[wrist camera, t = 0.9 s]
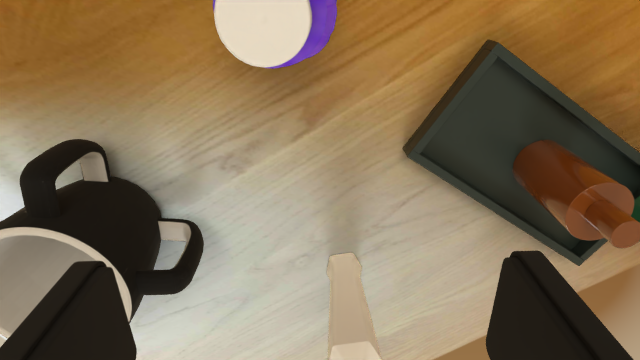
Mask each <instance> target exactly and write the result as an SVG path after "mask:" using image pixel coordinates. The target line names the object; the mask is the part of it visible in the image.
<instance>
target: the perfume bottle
mask: <svg viewBox="0 0 640 360" xmlns="http://www.w3.org/2000/svg"><path fill="white" fill-rule="evenodd" d="M361 271H362V267H361V265H360V263H359V262H358V260H357V258H356V257H355V255H354V253H344V254H337V255H331V256H330V258H329V263H328V268H327V275H328V277H329V279H330V308H329V336H328V360H382V358H381V354H380V350H379V346H378V343H377V339H376V335H375V331H374V328H373V324H372V320H371V316H370V313H369V309H368V305H367V302H366V298H365V294H364V290H363V287H362V283H361V279H360V275H361Z"/></svg>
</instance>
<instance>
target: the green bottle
mask: <svg viewBox="0 0 640 360" xmlns="http://www.w3.org/2000/svg"><path fill="white" fill-rule="evenodd" d="M631 216H632V217H633V218H634V219H636V220H637V221H638V222H640V196H639V197H637V198H636V199H635V200H634V209H633V212H632V214H631Z"/></svg>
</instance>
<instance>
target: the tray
mask: <svg viewBox="0 0 640 360" xmlns="http://www.w3.org/2000/svg"><path fill="white" fill-rule="evenodd" d="M540 140H551V141H555V142H557V143H559V144H560V145H562V146H563V147H565V148H566V149H568V150H570V151H571V152H573V153H574V154H576V155H577V156H579V157H580V158H582V159H584V160H585V161H587V162H588V163H590V164H591V165H593V166H594V167H596V168H597V169H599V170H601V171H602V172H604V173H605V174H607V175H608V176H610V177H611V178H613V179H614V180H616V181H618V182H619V183H621V184H622V185H624V186H625V187H627V188H628V189H629V190H630V191H631V193H632V195H633V198H634V200H635V199H636V198H637V197H639V196H640V153H639V152H638V151H636V150H635V149H634V148H633V147H631V146H630V145H629V144H627V143H626V142H625V141H624V140H622V139H621V138H620V137H619V136H617V135H616V134H615V133H613V132H612V131H611V130H610V129H608V128H607V127H606V126H604V125H603V124H602V123H601V122H599V121H598V120H597V119H596V118H594V117H593V116H592V115H590V114H589V113H588V112H587V111H585V110H584V109H583V108H581V107H580V106H579V105H578V104H576V103H575V102H574V101H572V100H571V99H570V98H569V97H567V96H566V95H565V94H564V93H562V92H561V91H560V90H558V89H557V88H556V87H555V86H553V85H552V84H551V83H549V82H548V81H547V80H546V79H544V78H543V77H542V76H541V75H539V74H538V73H537V72H535V71H534V70H533V69H532V68H530V67H529V66H528V65H526V64H525V63H524V62H523V61H521V60H520V59H519V58H518V57H516V56H515V55H514V54H512V53H511V52H510V51H509V50H507V49H506V48H505V47H503V46H502V45H501V44H500V43H498V42H495V41H492V40H487V41H486V43H485V44H484V45H483V46H482V48H481V49H480V50H479V51H478V53H477V54H476V55H475V57H474V58H473V59H472V60H471V62H470V63H469V64H468V65H467V67H466V68H465V69H464V71H463V72H462V73H461V74H460V76H459V77H458V78H457V80H456V81H455V82H454V83H453V85H452V86H451V87H450V88H449V90H448V91H447V92H446V94H445V95H444V96H443V97H442V99H441V100H440V101H439V102H438V104H437V105H436V106H435V108H434V109H433V110H432V111H431V113H430V114H429V115H428V116H427V118H426V119H425V120H424V122H423V123H422V124H421V125H420V127H419V128H418V129H417V130H416V132H415V133H414V134H413V136H412V137H411V138H410V139H409V141H408V142H407V143H406V144H405V146H404V147H403V150H404V151H405V153H406V155H407V157H409V158H410V159H412V160H413V161H415V162H417V163H418V164H420V165H421V166H423V167H424V168H426V169H427V170H429V171H431V172H432V173H434V174H435V175H437V176H438V177H440V178H442V179H443V180H445V181H446V182H448V183H449V184H451V185H453V186H454V187H456V188H457V189H459V190H460V191H462V192H464V193H465V194H467V195H468V196H470V197H471V198H473V199H474V200H476V201H478V202H479V203H481V204H482V205H484V206H485V207H487V208H489V209H490V210H492V211H493V212H495V213H496V214H498V215H500V216H501V217H503V218H504V219H506V220H507V221H509V222H511V223H512V224H514V225H515V226H517V227H518V228H520V229H522V230H523V231H525V232H526V233H528V234H529V235H531V236H532V237H534V238H536V239H537V240H539V241H540V242H542V243H543V244H545V245H547V246H548V247H550V248H551V249H553V250H554V251H556V252H558V253H559V254H561V255H562V256H564V257H565V258H567V259H569V260H570V261H572V262H573V263H575V264H576V265H578V266H580V265H581V264H582V263H583V262H584V260H586V259H588V258H589V257H590V256H591V255H592V254H593V253H594V252H596V251H597V250H598V249H599V248H600V247H601V246H602V245H603V244H605V243H606V242H607V241H608V240H607V239H606V238H602V239H598V240H582V239H578V238H576V237H574V236H573V235H571V234H570V233H569V232H568V231H567V230H566V229H565V228H564V227H563V226H562V225H561V224H560V223H559V222H558V221H557V220H556V219H555V218H554V217H553V216H552V215H551V214H550V213H549V212H548V211H547V210H546V209H544V208H543V207H542V206H541V205H540V204H539V203H538V202H537V201H536V200H535V199H534V198H533V197H532V196H531V195H530V194H529V193H528V192H527V191H526V190H525V189H524V188H523V187H522V186H521V185H520V184H519V183H518V182H517V181H516V180H515V178H514V175H513V164H514V161H515V159H516V157H517V155H518V154H519V153H520V152H521V151H522V150H523V149H524V148H525V147H526V146H528V145H529V144H531V143H534V142H536V141H540Z"/></svg>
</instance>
